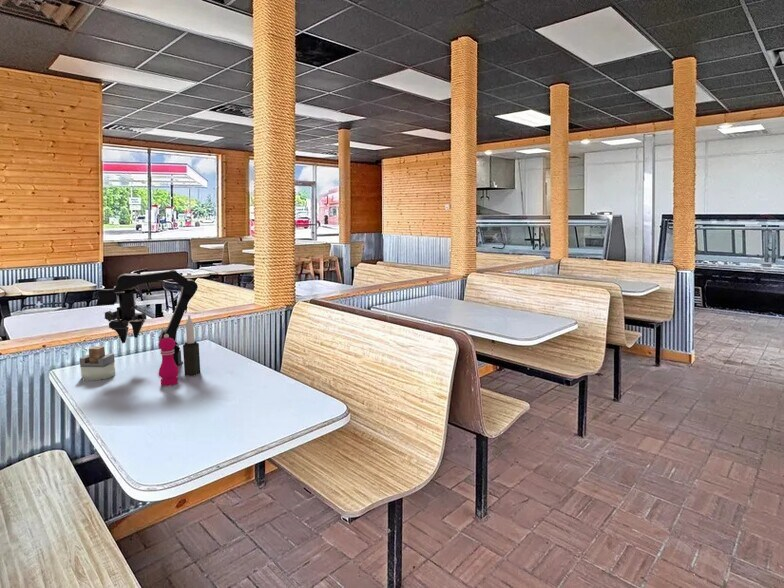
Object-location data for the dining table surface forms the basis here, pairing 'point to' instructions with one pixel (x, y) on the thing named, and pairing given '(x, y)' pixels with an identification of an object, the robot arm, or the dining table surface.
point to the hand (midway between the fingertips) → (129, 340)
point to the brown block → (96, 353)
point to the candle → (191, 351)
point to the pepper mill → (168, 362)
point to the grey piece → (98, 372)
